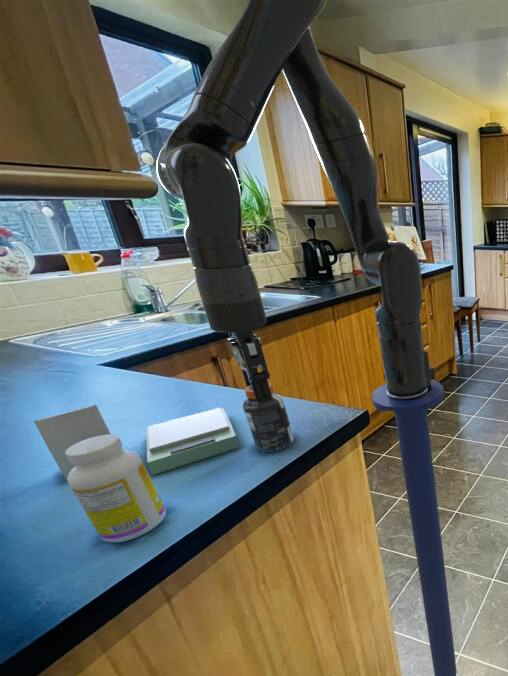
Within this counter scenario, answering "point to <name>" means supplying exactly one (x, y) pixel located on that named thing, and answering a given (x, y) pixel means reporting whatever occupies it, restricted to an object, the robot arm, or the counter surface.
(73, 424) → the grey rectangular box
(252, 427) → the pill bottle
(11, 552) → the counter surface
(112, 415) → the counter surface
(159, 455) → the scale
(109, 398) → the counter surface
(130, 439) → the counter surface
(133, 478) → the supplement bottle
